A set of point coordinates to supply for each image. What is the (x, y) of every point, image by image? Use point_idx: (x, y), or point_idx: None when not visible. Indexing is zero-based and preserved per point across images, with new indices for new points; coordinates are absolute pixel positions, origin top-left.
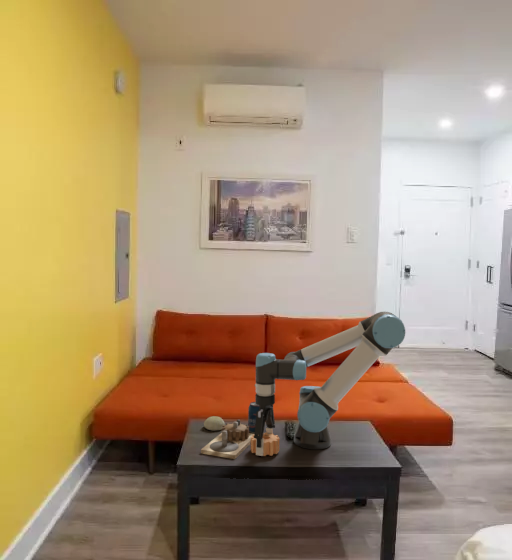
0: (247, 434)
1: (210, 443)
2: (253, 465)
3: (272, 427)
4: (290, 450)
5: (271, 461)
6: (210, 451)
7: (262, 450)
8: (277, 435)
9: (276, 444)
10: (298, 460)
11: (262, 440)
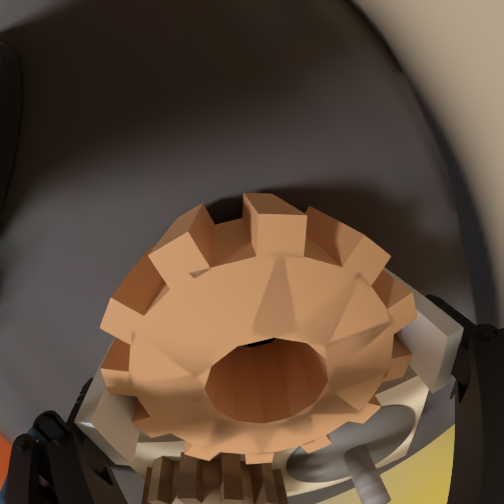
0: (196, 473)
1: (343, 478)
2: (458, 241)
3: (73, 432)
4: (94, 162)
5: (378, 173)
6: (412, 436)
7: (395, 278)
8: (106, 316)
9: (290, 207)
10: (241, 16)
11: (452, 322)
